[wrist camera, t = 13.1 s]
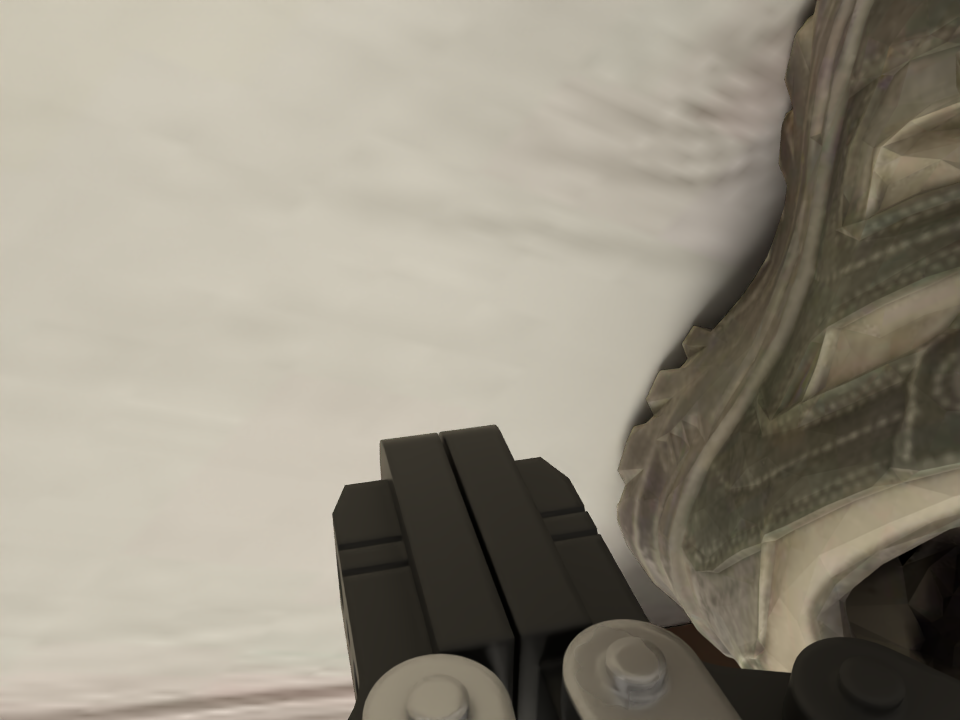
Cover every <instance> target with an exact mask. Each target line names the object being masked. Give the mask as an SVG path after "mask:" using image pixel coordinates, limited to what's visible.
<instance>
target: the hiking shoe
mask: <svg viewBox="0 0 960 720" xmlns="http://www.w3.org/2000/svg"><path fill="white" fill-rule="evenodd" d="M784 80H785V83H786V86H787V89H788V92H789V95H790V98H791V103H792V108H793V109H792V110H790V111H789V112H788V113H786V116H785V119H784V121H783V124H782V130H781V142H780V154H779V166H780V168H781V171H782V173H783V176H784V178H785V181H786V183H787V191H786V199H785V206H784V209H783V212H782V215H781V218H780V222H779V225H778V228H777V231H776V234H775V237H774V240H773V243H772V246H771V248H770V251H769V254H768V256H767V258H766V260H765V261H764V263H763V265H762V266H761V268H760V269H759V271H758V273H757V274H756V276H755V278H754V279H753V281H752V282H751V284H750V285H749V287H748V288H747V290H746V291H745V292H744V294H743V295H742V297H741V298H740V299H739V300H738V302H737V303H736V304H735V305H734V306H733V307H732V309H731V310H730V311H729V312H728V313H727V314H726V316H725V317H724V318H723V319H722V320H721V321H720V322H719V323H718V325H717V326H716V327H715V328H714V329H713V330H711V329H707V328H702V327H698V326H693V327H692V329H691V330H690V332H689V334H688V335H687V337H686V338H685V340H684V341H683V343H682V345H683V348H684V351H685V353H686V356H687V360H686V362H685V363H684V364H683V365H682V366H681V368H677V369H667V370H661V371H659V373H658V375H657V377H656V379H655V381H654V383H653V385H652V388H651V390H650V392H649V394H648V396H647V398H646V401H647V403H648V405H649V407H650V409H651V411H652V413H653V415H654V416H653V417H652V418H651V419H650V420H649V421H648V422H647V423H645V424H641V425H637V426H634V427H633V429H632V431H631V433H630V435H629V438H628V440H627V442H626V445H625V448H624V451H623V455H622V458H621V461H620V464H619V468H618V472H619V474H620V475H621V477H622V479H623V481H624V483H625V488H624V491H623V493H622V496H621V499H620V501H619V503H618V505H617V520H618V523H619V526H620V528H621V531H622V533H623V536H624V538H625V541H626V543H627V546H628V548H629V549H630V550H631V552H632V553H633V555H634V556H635V558H636V559H637V560H638V562H639V563H640V565H641V566H642V568H643V569H644V570H645V572H646V573H647V575H648V576H649V577H650V579H651V580H652V582H653V583H654V584H655V585H656V586H658V587H659V588H660V589H661V590H662V591H663V592H664V593H666V594H667V595H668V596H669V597H670V598H671V599H673V600H674V601H675V602H676V603H677V604H678V605H679V606H681V607H682V608H683V609H684V611H685V612H686V614H687V615H688V617H689V618H690V620H691V621H692V623H693V624H694V626H695V627H696V629H697V631H699V632H700V633H701V634H702V635H703V636H704V637H705V638H706V639H707V640H708V641H710V642H711V643H712V644H713V645H714V646H715V647H716V648H717V649H718V650H720V651H721V652H722V653H723V654H724V655H725V656H727V657H730V658H733V659H735V660H736V662H737V663H738V664H739V666H740V667H741V668H742V669H753V670H765V671H777V672H789V673H791V672H792V668H793V665H794V662H795V660H796V657H797V656H798V655H799V654H800V652H801V651H802V650H803V649H804V648H806V647H807V646H808V645H810V644H812V643H814V642H816V641H818V640H822V639H826V638H833V637H852V638H858V639H864V640H868V641H871V642H875V643H878V644H880V645H883V646H885V647H888V648H890V649H892V650H895V651H897V652H899V653H901V654H903V655H905V656H908V657H910V658H912V659H914V660H916V661H918V662H921V663H923V664H925V665H927V666H929V667H931V668H933V669H936V670H938V671H940V672H942V673H944V674H946V675H949V676H951V677H953V678H955V679H957V680H959V681H960V0H817V3H816V7H815V12H814V14H813V15H812V16H810V17H809V18H808V19H807V20H806V22H805V23H804V24H803V26H802V27H801V28H800V30H799V31H798V32H797V34H796V35H795V39H794V43H793V47H792V51H791V55H790V59H789V63H788V67H787V71H786V75H785V79H784Z"/></svg>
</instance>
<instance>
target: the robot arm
mask: <svg viewBox="0 0 960 720" xmlns="http://www.w3.org/2000/svg"><path fill="white" fill-rule="evenodd" d="M380 466H381V480H379V481H372V482H365V483H358V484H351V485H345V487H344V489H343V491H342V493H341V496H340V498H339V500H338V503H337V505H336V507H335V509H334V512H333V514H332V516H333V526H334V537H335V547H336V558H337V569H338V579H339V590H340V600H341V609H342V615H343V622H344V628H345V634H346V640H347V647H348V654H349V660H350V665H351V673H352V680H353V686H354V692H355V699H356V703H355V706H354V709H353V711H352V713H351V715H350V717H349V719H348V720H960V681H959V680H957V679H955V678H953V677H951V676H949V675H946V674H944V673H942V672H940V671H938V670H936V669H933V668H931V667H929V666H927V665H925V664H923V663H921V662H918V661H916V660H914V659H912V658H910V657H908V656H905V655H903V654H901V653H899V652H897V651H895V650H892V649H890V648H888V647H885V646H883V645H880V644H878V643H875V642H871V641H868V640H864V639H858V638H852V637H833V638H826V639H822V640H818V641H816V642H814V643H812V644H810V645H808V646H807V647H806V648H804V649H803V650H802V651H801V652H800V654H799V655H798V656H797V657H796V660H795V662H794V665H793V668H792V672H791V673H789V672H777V671H765V670H753V669H742V668H731V667H724V666H719V665H715V664H711V663H707V662H704V661H702V660H700V659H699V657H698V656H697V654H696V653H695V652H694V651H693V650H692V648H691V647H690V646H689V645H688V644H687V643H685V642H684V641H683V640H682V639H681V638H679V637H678V636H676V635H675V634H673V633H672V632H670V631H668V630H666V629H664V628H662V627H660V626H657V625H654V624H651V623H650V622H649V620H648V619H647V617H646V615H645V614H644V612H643V610H642V608H641V606H640V605H639V603H638V601H637V599H636V597H635V596H634V594H633V592H632V590H631V589H630V587H629V585H628V583H627V581H626V580H625V578H624V576H623V574H622V572H621V571H620V569H619V567H618V565H617V563H616V562H615V560H614V558H613V556H612V554H611V553H610V551H609V549H608V547H607V546H606V544H605V542H604V540H603V538H602V537H601V535H600V534H598V533H597V528H596V526H595V524H594V522H593V520H592V519H591V517H590V515H589V513H588V512H587V511H586V512H585V509H584V504H583V503H582V501H581V499H580V497H579V495H578V494H577V492H576V490H575V488H574V486H573V485H572V483H571V481H570V479H569V478H568V477H566V476H565V475H564V474H562V473H561V472H560V471H558V470H557V469H556V468H554V467H553V466H552V465H550V464H549V463H548V462H546V461H545V460H544V459H542V458H541V457H537V458H530V459H523V460H516V461H514V459H513V456H512V454H511V452H510V450H509V448H508V446H507V444H506V442H505V440H504V438H503V436H502V434H501V432H500V430H499V428H498V427H497V426H496V425H489V426H481V427H474V428H466V429H459V430H451V431H444V432H440V433H439V435H438V434H437V433H430V434H423V435H415V436H408V437H400V438H393V439H385V440H381V441H380Z"/></svg>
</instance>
